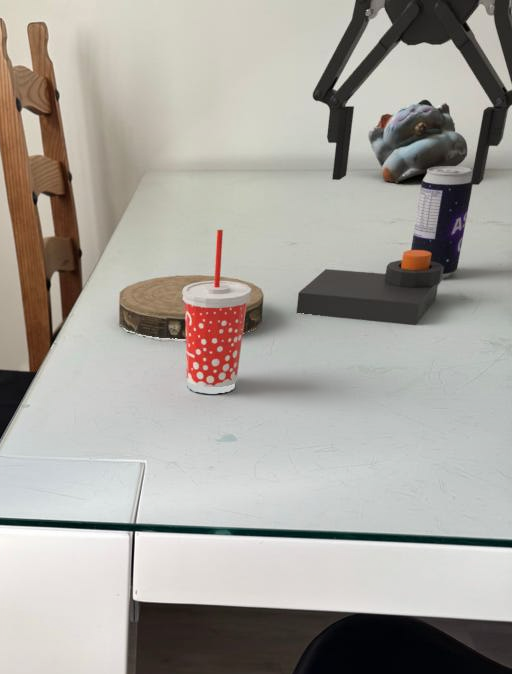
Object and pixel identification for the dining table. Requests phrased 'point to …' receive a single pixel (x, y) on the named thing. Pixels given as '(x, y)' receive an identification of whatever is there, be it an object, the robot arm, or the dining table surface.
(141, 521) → the dining table surface
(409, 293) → the scale
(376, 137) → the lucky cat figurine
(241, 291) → the beverage cup
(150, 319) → the wood slice
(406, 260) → the button
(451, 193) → the beverage can
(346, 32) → the robot arm
